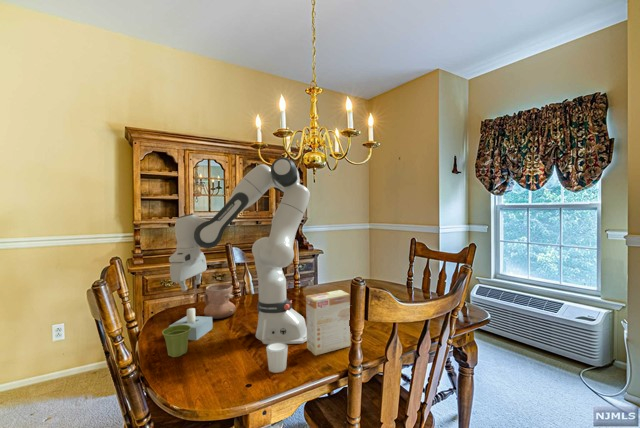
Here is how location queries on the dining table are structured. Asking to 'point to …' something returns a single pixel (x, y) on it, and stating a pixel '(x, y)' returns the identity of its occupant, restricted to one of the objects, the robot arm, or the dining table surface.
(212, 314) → the ceramic jug
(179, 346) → the plant pot
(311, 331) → the coffeecake box
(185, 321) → the socket block
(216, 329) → the dining table surface
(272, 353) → the shot glass
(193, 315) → the dowel
